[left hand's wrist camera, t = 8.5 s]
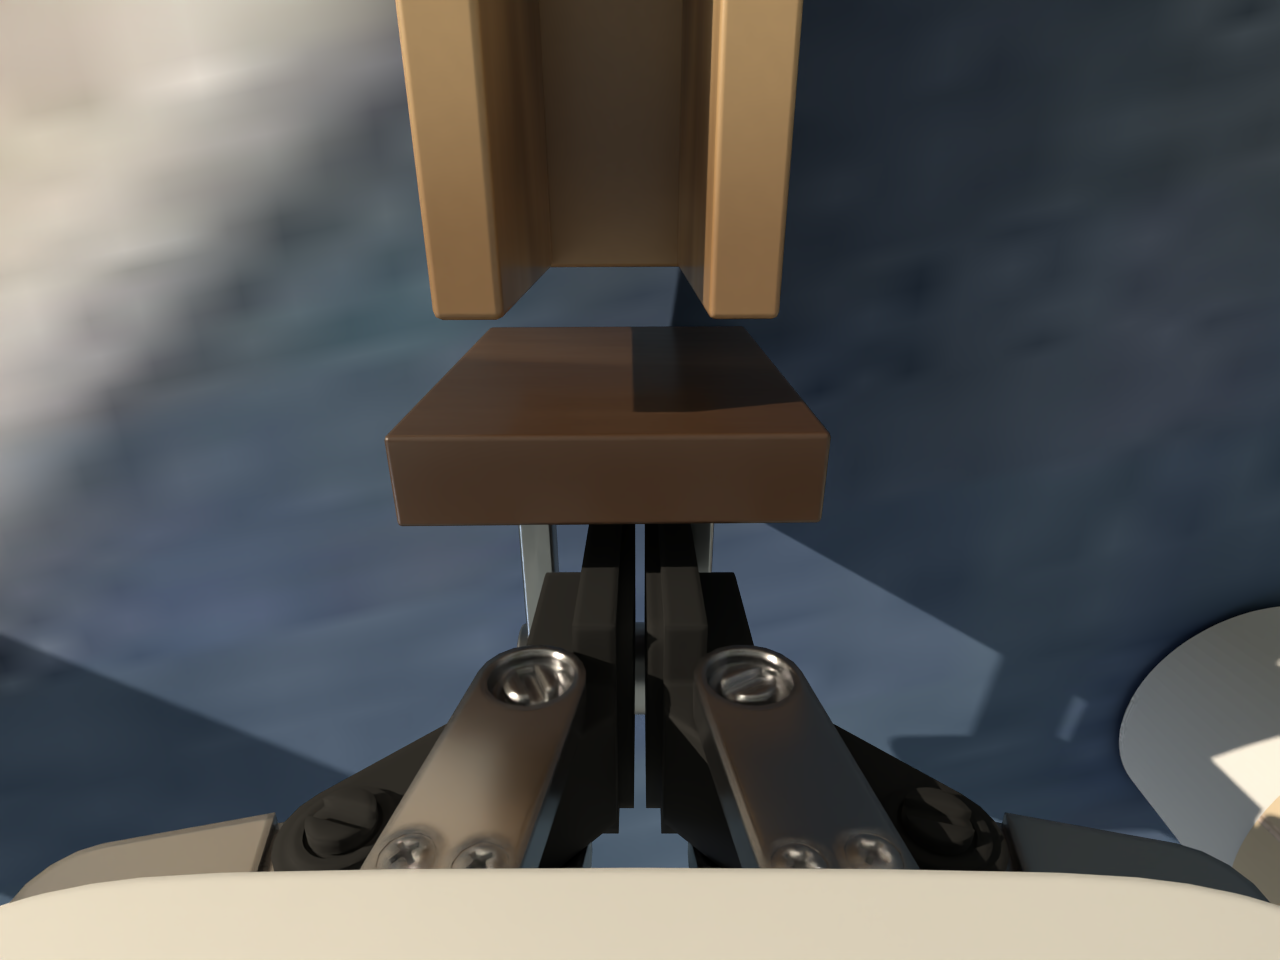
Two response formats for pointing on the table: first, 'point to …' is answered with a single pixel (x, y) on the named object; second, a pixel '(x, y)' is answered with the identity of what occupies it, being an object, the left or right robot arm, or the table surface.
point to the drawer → (604, 237)
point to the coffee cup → (1215, 744)
